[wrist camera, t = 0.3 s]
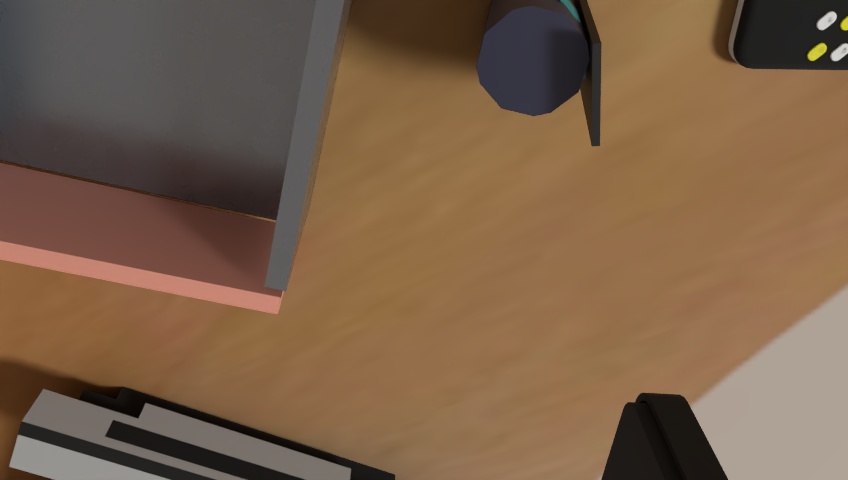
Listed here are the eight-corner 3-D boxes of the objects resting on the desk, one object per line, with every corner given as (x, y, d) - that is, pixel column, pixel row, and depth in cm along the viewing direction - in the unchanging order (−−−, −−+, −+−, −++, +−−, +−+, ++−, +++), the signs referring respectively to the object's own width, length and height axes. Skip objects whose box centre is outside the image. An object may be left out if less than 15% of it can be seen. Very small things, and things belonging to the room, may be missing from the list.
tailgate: (-46, 152, 42) (-136, 213, 35) (300, 228, 45) (281, 297, 38) (-45, 169, 43) (-133, 233, 36) (297, 243, 46) (277, 314, 39)
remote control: (744, -41, 40) (759, -36, 39) (953, -38, 41) (978, -32, 39) (719, 62, 44) (732, 71, 42) (914, 65, 44) (935, 74, 42)
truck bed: (-44, -182, 36) (-207, -190, 26) (365, -65, 39) (351, -35, 30) (-23, 130, 44) (-141, 209, 35) (309, 205, 48) (285, 295, 38)
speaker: (618, -7, 41) (652, 41, 32) (584, 83, 44) (606, 150, 35) (496, -41, 40) (497, -1, 31) (470, 53, 43) (464, 112, 35)
